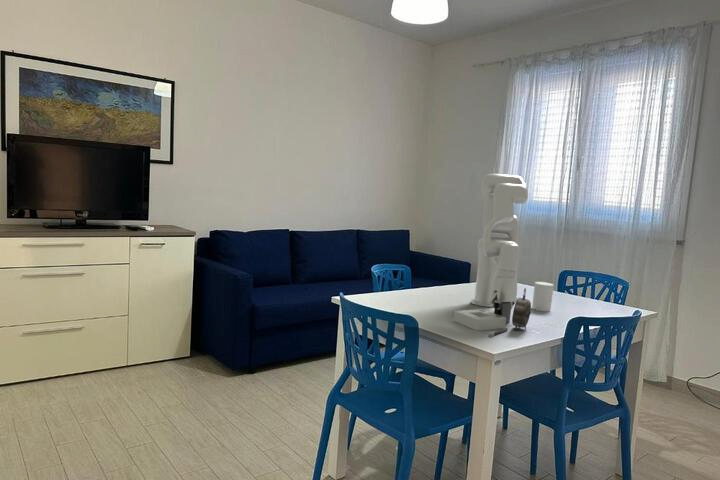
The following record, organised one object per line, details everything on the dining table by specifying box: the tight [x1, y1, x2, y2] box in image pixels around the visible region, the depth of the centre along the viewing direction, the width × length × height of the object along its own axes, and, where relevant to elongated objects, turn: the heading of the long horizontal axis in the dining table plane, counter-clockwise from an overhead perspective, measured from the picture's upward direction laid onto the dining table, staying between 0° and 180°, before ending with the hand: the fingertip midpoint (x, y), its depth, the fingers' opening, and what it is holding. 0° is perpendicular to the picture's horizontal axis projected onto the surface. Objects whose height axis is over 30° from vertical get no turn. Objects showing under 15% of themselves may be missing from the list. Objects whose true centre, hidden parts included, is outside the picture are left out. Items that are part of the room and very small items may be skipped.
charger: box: [493, 302, 512, 324], centre depth 211 cm, size 4×4×8 cm
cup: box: [531, 281, 555, 312], centre depth 241 cm, size 8×8×12 cm
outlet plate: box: [453, 308, 507, 331], centre depth 204 cm, size 14×14×4 cm
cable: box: [487, 327, 509, 338], centre depth 192 cm, size 14×1×1 cm, turn 140°
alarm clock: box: [511, 287, 532, 332], centre depth 201 cm, size 11×5×16 cm, turn 150°
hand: (501, 317), depth 211 cm, fingers closed on charger, 4 cm apart
